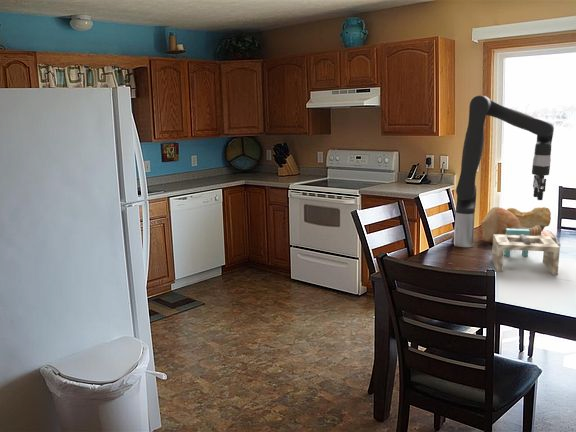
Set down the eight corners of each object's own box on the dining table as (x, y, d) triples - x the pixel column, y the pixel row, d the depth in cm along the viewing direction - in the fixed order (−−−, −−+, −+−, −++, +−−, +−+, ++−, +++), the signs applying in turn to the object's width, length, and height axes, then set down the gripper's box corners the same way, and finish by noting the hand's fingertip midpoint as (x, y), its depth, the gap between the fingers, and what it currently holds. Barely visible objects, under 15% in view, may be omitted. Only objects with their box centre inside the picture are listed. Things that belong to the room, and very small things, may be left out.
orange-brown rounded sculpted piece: (471, 216, 299) (525, 221, 302) (475, 248, 291) (530, 253, 294) (487, 199, 282) (544, 204, 284) (492, 233, 273) (550, 238, 276)
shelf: (497, 271, 239) (499, 241, 237) (491, 259, 259) (493, 231, 256) (557, 274, 234) (560, 244, 231) (547, 262, 253) (549, 233, 250)
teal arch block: (505, 255, 265) (507, 230, 262) (504, 253, 268) (505, 228, 266) (527, 256, 262) (529, 230, 260) (526, 254, 266) (528, 229, 264)
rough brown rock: (549, 231, 317) (550, 205, 316) (550, 235, 302) (551, 208, 301) (506, 229, 326) (507, 204, 325) (504, 233, 311) (505, 206, 310)
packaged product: (561, 237, 281) (539, 236, 283) (560, 246, 281) (539, 245, 284) (554, 230, 298) (534, 229, 300) (554, 238, 298) (534, 237, 301)
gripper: (529, 162, 269) (526, 195, 272) (536, 165, 255) (532, 200, 259) (546, 163, 267) (542, 196, 271) (553, 166, 254) (549, 201, 257)
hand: (537, 198), depth 265 cm, fingers open, 8 cm apart
